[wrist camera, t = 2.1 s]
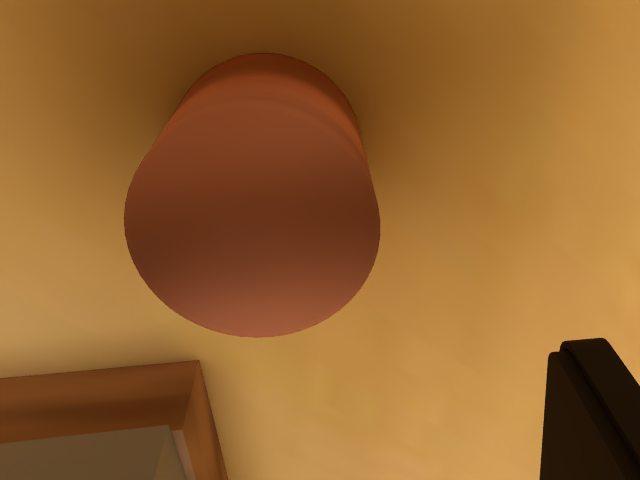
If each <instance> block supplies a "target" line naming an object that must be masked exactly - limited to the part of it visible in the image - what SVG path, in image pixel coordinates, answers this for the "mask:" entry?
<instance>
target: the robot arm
mask: <svg viewBox="0 0 640 480" xmlns="http://www.w3.org/2000/svg"><path fill="white" fill-rule="evenodd" d="M540 480H640V386H639V384H638V383H637V382H636V380H635V379H634V377H633V376H632V374H631V373H630V372H629V370H628V369H627V367H626V366H625V365H624V363H623V362H622V360H621V359H620V358H619V356H618V355H617V353H616V352H615V351H614V349H613V348H612V346H611V345H610V344H609V342H608V341H607V340H606V339H604V338H594V339H582V340H571V341H564V342H562V344H561V346H560V351H559V352H551V353H550V354H549V357H548V367H547V382H546V396H545V410H544V425H543V439H542V454H541V468H540Z"/></svg>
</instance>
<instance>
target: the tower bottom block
mask: <svg viewBox="0 0 640 480" xmlns="http://www.w3.org/2000/svg"><path fill="white" fill-rule="evenodd" d="M163 425H169V428H170V431H171V434H172V437H173V440H174V443H175V446H176V449H177V452H178V455H179V458H180V461H181V464H182V467H183V470H184V473H185V476H186V478H187V480H228V477H227V473H226V469H225V465H224V461H223V457H222V453H221V448H220V444H219V440H218V436H217V432H216V428H215V424H214V420H213V415H212V411H211V407H210V403H209V399H208V395H207V391H206V386H205V382H204V378H203V374H202V370H201V366H200V362H199V360H197V361H186V362H175V363H164V364H153V365H142V366H131V367H120V368H109V369H98V370H87V371H76V372H65V373H55V374H44V375H33V376H22V377H11V378H0V444H2V443H11V442H19V441H28V440H37V439H46V438H55V437H64V436H73V435H82V434H91V433H100V432H109V431H118V430H127V429H136V428H145V427H154V426H163Z"/></svg>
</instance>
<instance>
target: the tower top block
mask: <svg viewBox="0 0 640 480" xmlns="http://www.w3.org/2000/svg"><path fill="white" fill-rule="evenodd" d="M0 480H187V478H186V476H185V473H184V470H183V467H182V464H181V461H180V458H179V455H178V452H177V449H176V446H175V443H174V440H173V437H172V434H171V431H170V428H169V425H163V426H154V427H145V428H136V429H127V430H118V431H109V432H100V433H91V434H82V435H73V436H64V437H55V438H46V439H37V440H28V441H19V442H11V443H2V444H0Z"/></svg>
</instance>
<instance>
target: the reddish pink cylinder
mask: <svg viewBox="0 0 640 480" xmlns="http://www.w3.org/2000/svg"><path fill="white" fill-rule="evenodd" d="M124 226H125V236H126V240H127V245H128V249H129V252H130V254H131V257H132V260H133V262H134V264H135V266H136V268H137V270H138V272H139V274H140V276H141V277H142V278H143V280H144V281H145V283H146V284H147V285H148V287H149V288H150V289H151V290H152V291H153V292H154V294H155V295H156V296H157V297H158V298H159V299H160V300H161V301H162V302H164V303H165V304H166V305H167V306H168V307H169V308H171V309H172V310H173V311H175V312H176V313H178V314H179V315H181V316H182V317H184V318H186V319H188V320H190V321H191V322H193V323H195V324H197V325H200V326H202V327H205V328H207V329H210V330H213V331H217V332H220V333H224V334H228V335H234V336H240V337H256V338H258V337H274V336H280V335H287V334H290V333H294V332H298V331H301V330H304V329H306V328H309V327H311V326H314V325H316V324H318V323H320V322H322V321H324V320H325V319H327V318H329V317H330V316H332V315H333V314H335V313H336V312H337V311H339V310H340V309H341V308H342V307H344V306H345V305H346V304H347V303H348V302H349V301H350V300H351V299H352V298H353V297H354V296H355V294H356V293H357V292H358V291H359V290H360V288H361V287H362V285H363V284H364V282H365V281H366V279H367V277H368V275H369V273H370V271H371V269H372V267H373V265H374V262H375V258H376V255H377V252H378V247H379V240H380V216H379V209H378V204H377V200H376V196H375V192H374V188H373V184H372V180H371V176H370V172H369V168H368V164H367V160H366V156H365V152H364V148H363V144H362V140H361V136H360V132H359V128H358V124H357V121H356V118H355V115H354V112H353V110H352V108H351V106H350V104H349V102H348V100H347V99H346V97H345V96H344V94H343V93H342V91H341V90H340V89H339V88H338V87H337V85H336V84H335V83H334V82H333V81H332V80H330V79H329V78H328V77H327V76H326V75H325V74H323V73H322V72H321V71H319V70H318V69H316V68H315V67H313V66H311V65H309V64H307V63H305V62H303V61H301V60H298V59H295V58H292V57H289V56H284V55H279V54H270V53H258V54H248V55H243V56H238V57H235V58H232V59H229V60H227V61H225V62H223V63H221V64H219V65H217V66H215V67H213V68H212V69H210V70H209V71H208V72H206V73H205V74H204V75H203V76H202V77H200V78H199V79H198V80H197V81H196V82H195V83H194V85H193V86H192V87H191V88H190V90H189V91H188V92H187V94H186V95H185V97H184V98H183V100H182V101H181V103H180V104H179V106H178V107H177V109H176V110H175V112H174V114H173V115H172V117H171V118H170V120H169V121H168V123H167V124H166V126H165V127H164V129H163V130H162V132H161V133H160V135H159V136H158V138H157V139H156V141H155V142H154V144H153V146H152V147H151V149H150V150H149V152H148V153H147V155H146V156H145V158H144V159H143V161H142V162H141V164H140V166H139V167H138V169H137V171H136V172H135V174H134V177H133V179H132V182H131V184H130V187H129V189H128V194H127V198H126V202H125V212H124Z"/></svg>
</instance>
